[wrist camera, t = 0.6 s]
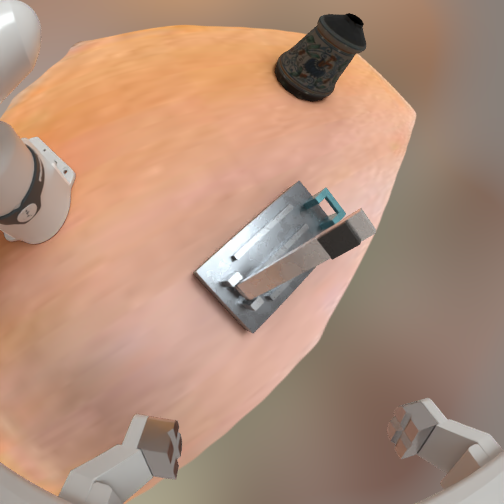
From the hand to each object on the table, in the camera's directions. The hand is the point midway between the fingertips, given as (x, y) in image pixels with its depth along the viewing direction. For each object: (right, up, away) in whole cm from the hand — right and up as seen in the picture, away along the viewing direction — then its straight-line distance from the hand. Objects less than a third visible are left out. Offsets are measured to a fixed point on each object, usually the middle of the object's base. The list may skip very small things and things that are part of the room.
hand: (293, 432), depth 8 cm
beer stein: (+12, +54, +54) cm, 77 cm away
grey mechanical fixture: (+2, +6, +44) cm, 44 cm away
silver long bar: (+4, +5, +27) cm, 28 cm away
